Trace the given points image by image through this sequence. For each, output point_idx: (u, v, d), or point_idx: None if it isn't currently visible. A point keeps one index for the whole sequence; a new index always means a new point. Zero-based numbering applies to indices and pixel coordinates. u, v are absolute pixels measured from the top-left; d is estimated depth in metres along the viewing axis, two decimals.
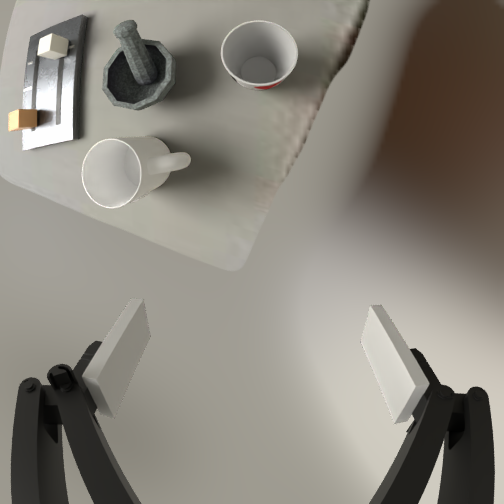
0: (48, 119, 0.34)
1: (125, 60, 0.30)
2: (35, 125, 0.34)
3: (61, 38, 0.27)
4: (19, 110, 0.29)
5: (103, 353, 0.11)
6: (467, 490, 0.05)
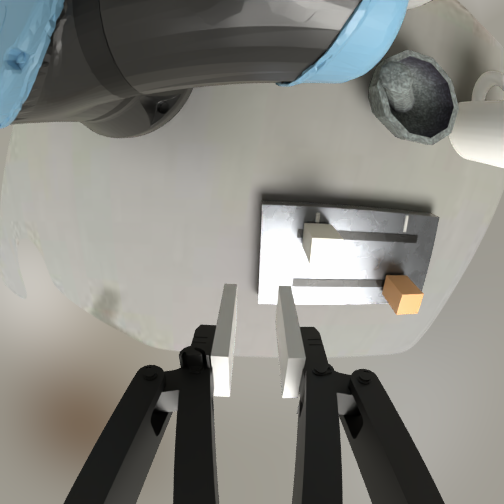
0: (405, 255, 0.32)
1: None
2: (406, 276, 0.33)
3: (310, 229, 0.29)
4: (402, 293, 0.29)
5: (223, 333, 0.13)
6: (395, 480, 0.06)
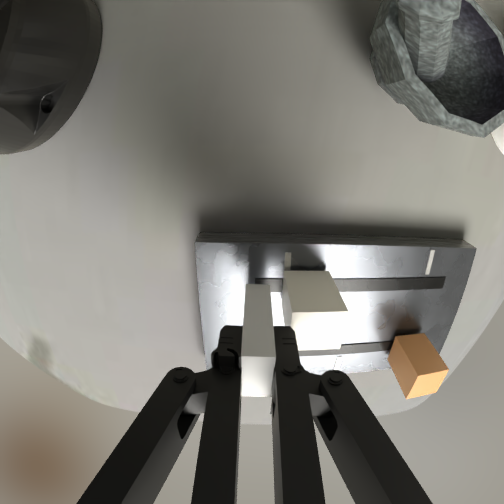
0: (425, 305, 0.21)
1: None
2: (424, 335, 0.21)
3: (292, 286, 0.17)
4: (419, 373, 0.17)
5: (250, 333, 0.13)
6: (377, 482, 0.06)
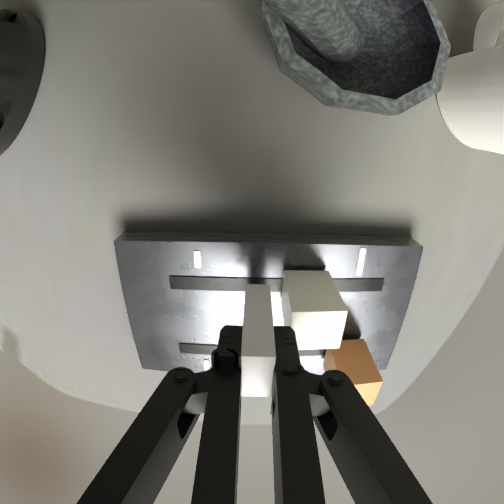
0: (361, 309, 0.21)
1: None
2: (363, 342, 0.21)
3: (292, 286, 0.17)
4: None
5: (250, 333, 0.13)
6: (377, 482, 0.06)
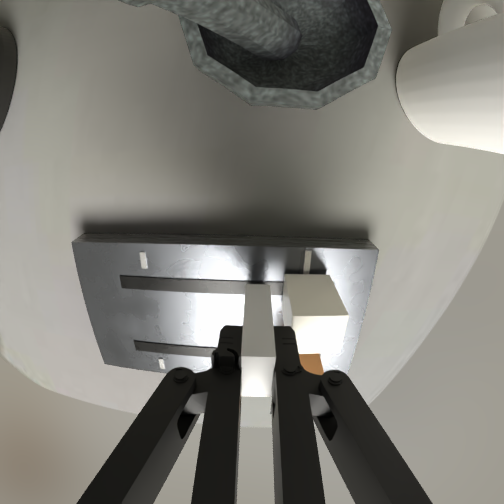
0: None
1: None
2: None
3: (293, 290, 0.17)
4: None
5: (250, 333, 0.13)
6: (377, 482, 0.06)
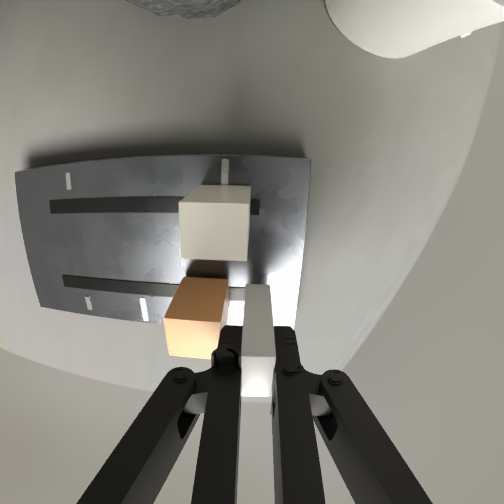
0: None
1: None
2: (225, 281, 0.18)
3: (197, 191, 0.15)
4: (167, 316, 0.15)
5: (250, 333, 0.13)
6: (377, 482, 0.06)
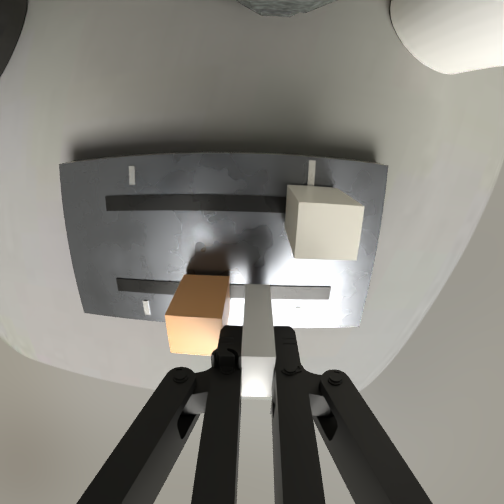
0: None
1: None
2: (226, 278, 0.19)
3: (297, 191, 0.15)
4: (169, 313, 0.15)
5: (250, 333, 0.13)
6: (377, 482, 0.06)
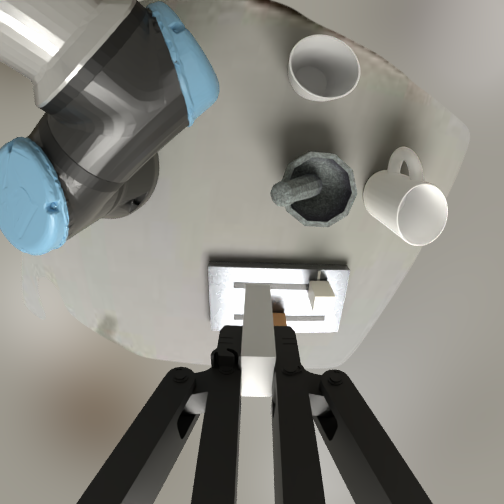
0: None
1: (293, 205, 0.38)
2: (284, 314, 0.46)
3: (314, 287, 0.43)
4: None
5: (250, 333, 0.13)
6: (377, 482, 0.06)
